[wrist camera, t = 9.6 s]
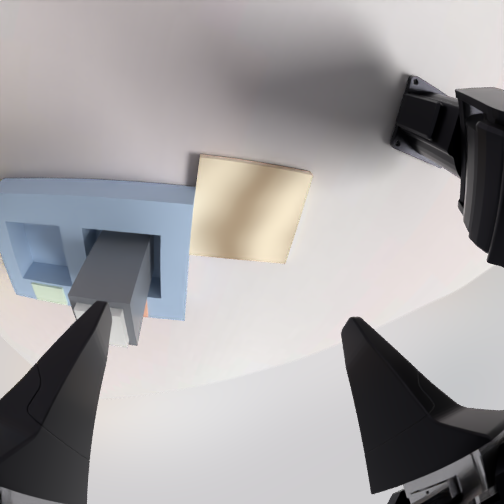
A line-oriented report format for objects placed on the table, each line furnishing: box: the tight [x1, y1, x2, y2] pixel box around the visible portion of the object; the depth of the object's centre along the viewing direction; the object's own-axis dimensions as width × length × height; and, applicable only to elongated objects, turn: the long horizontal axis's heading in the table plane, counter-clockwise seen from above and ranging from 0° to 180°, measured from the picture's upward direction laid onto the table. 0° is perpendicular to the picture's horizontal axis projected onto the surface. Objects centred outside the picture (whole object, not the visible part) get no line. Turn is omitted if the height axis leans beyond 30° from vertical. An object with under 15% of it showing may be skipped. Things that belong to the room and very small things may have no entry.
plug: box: [68, 230, 154, 348], centre depth 18 cm, size 4×4×9 cm
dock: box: [0, 178, 196, 321], centre depth 19 cm, size 18×11×3 cm, turn 79°
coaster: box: [189, 154, 313, 264], centre depth 21 cm, size 8×8×1 cm
